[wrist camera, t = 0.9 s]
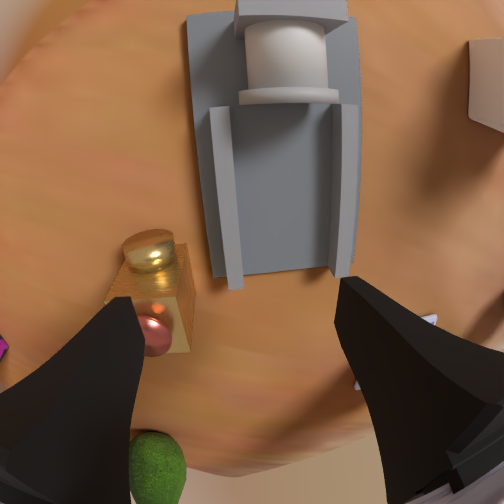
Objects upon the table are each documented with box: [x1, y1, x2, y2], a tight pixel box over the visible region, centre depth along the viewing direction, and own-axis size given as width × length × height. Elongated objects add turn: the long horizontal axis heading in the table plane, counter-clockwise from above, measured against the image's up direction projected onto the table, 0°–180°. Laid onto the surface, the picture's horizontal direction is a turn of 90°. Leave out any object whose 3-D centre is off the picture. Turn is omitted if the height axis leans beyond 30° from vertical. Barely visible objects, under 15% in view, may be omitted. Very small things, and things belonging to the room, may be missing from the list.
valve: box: [104, 229, 196, 357], centre depth 17 cm, size 7×4×7 cm, turn 4°
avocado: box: [129, 432, 186, 504], centre depth 26 cm, size 8×8×12 cm
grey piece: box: [186, 0, 362, 290], centre depth 15 cm, size 17×10×5 cm, turn 3°
